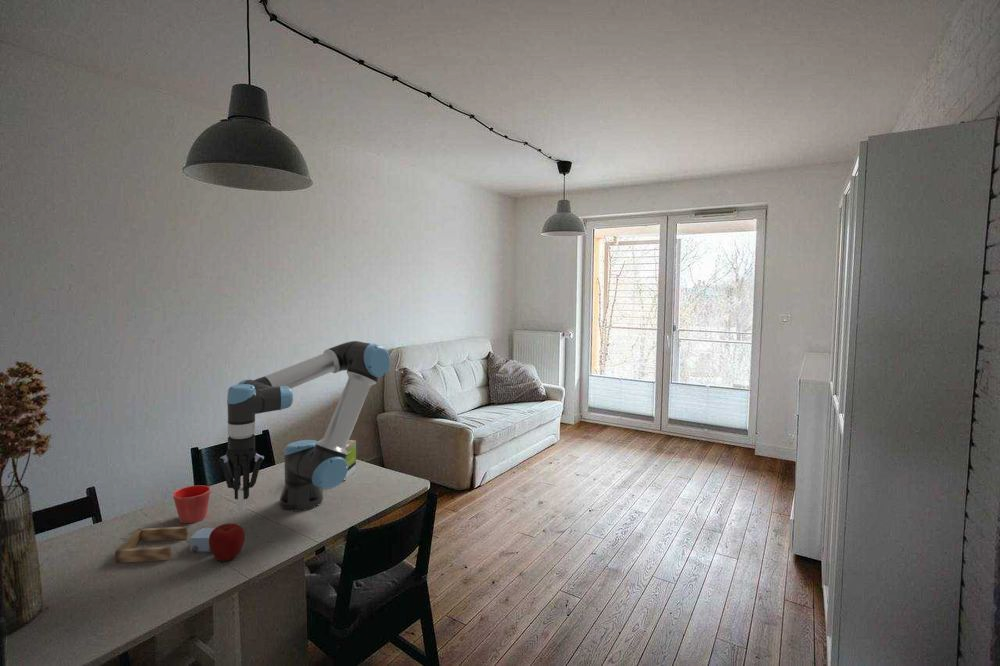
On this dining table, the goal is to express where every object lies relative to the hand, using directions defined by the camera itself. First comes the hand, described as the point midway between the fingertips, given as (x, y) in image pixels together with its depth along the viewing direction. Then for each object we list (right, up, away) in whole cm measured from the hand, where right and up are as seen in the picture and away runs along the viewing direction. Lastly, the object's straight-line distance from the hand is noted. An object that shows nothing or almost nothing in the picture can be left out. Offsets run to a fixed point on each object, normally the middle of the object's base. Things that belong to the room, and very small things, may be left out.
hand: (241, 508), depth 160 cm
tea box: (+10, -6, +59) cm, 60 cm away
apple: (-1, -13, -6) cm, 14 cm away
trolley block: (-10, -12, 0) cm, 16 cm away
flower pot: (-26, -9, +17) cm, 32 cm away
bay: (-25, -11, -3) cm, 27 cm away
